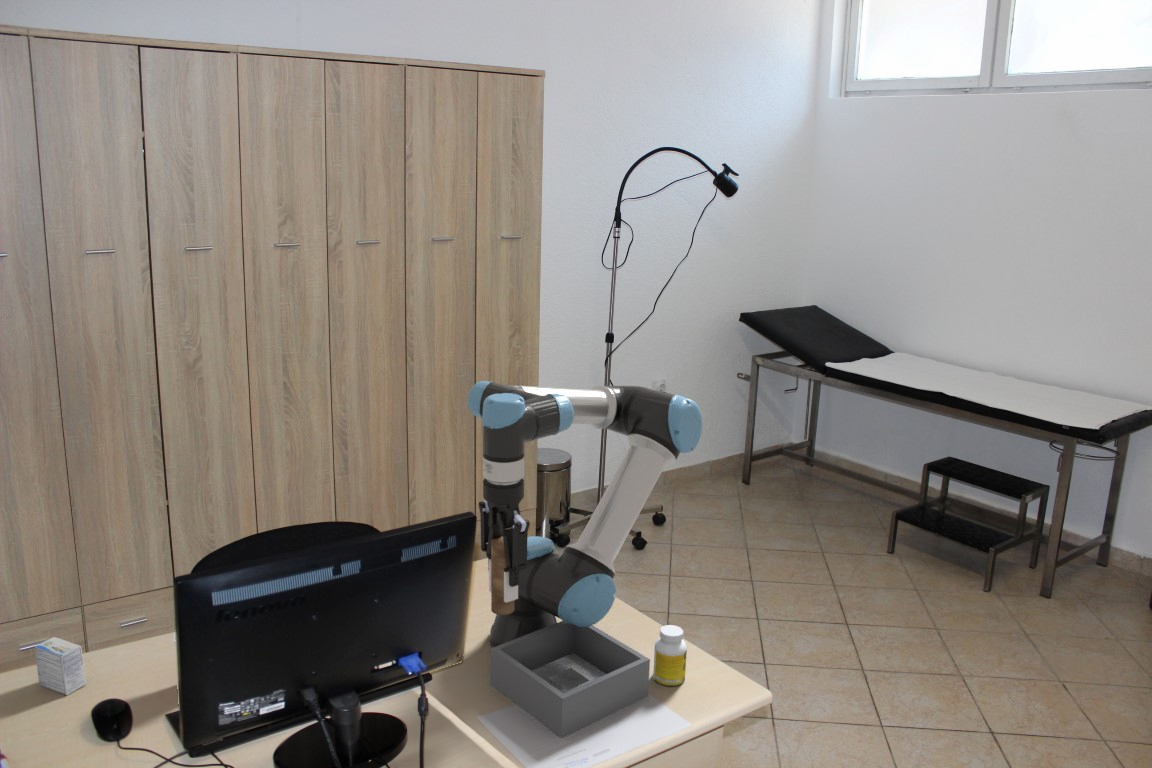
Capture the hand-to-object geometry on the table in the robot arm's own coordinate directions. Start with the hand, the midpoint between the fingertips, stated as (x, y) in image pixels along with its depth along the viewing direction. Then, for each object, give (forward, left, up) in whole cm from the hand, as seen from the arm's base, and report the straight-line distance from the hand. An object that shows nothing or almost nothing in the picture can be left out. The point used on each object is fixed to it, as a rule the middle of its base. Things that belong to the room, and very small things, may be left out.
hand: (503, 594), depth 176 cm
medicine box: (-56, -65, -23) cm, 89 cm away
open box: (+7, +11, -22) cm, 26 cm away
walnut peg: (0, 0, -3) cm, 3 cm away
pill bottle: (+16, +30, -23) cm, 41 cm away
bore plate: (+7, +11, -21) cm, 25 cm away
